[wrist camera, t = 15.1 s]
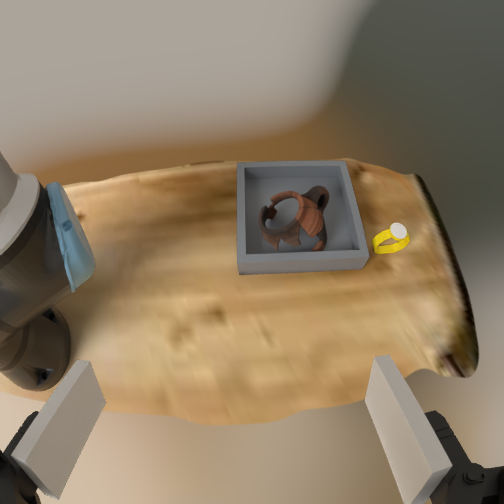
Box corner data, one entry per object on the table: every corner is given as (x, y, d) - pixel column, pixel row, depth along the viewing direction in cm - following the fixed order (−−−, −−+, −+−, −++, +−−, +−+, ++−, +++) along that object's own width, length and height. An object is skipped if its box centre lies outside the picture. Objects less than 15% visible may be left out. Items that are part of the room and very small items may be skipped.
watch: (397, 241, 48) (412, 221, 43) (402, 256, 47) (418, 237, 41) (365, 243, 47) (379, 222, 42) (370, 259, 46) (385, 239, 41)
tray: (239, 274, 46) (237, 262, 42) (238, 178, 54) (236, 162, 51) (362, 269, 45) (369, 256, 42) (341, 176, 54) (345, 160, 51)
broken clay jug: (311, 276, 45) (285, 248, 39) (268, 253, 51) (239, 226, 46) (353, 211, 46) (335, 176, 40) (308, 196, 53) (286, 164, 47)
